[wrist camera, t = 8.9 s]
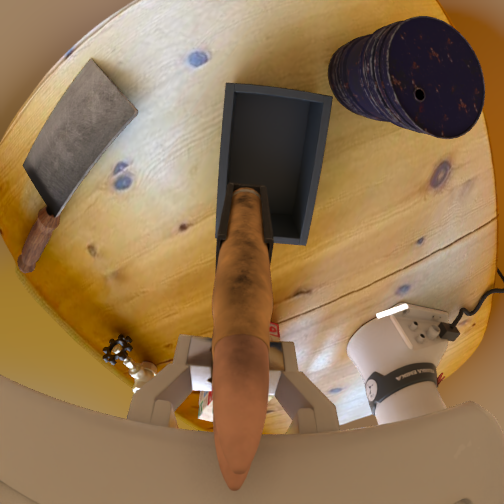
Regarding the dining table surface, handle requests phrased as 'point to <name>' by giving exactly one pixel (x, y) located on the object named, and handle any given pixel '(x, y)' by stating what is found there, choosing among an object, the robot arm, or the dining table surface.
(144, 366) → the valve
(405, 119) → the dark blue cylinder
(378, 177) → the dining table surface
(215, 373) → the ammunition clip
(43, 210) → the meat cleaver
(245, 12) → the dining table surface
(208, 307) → the dining table surface
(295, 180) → the bin
